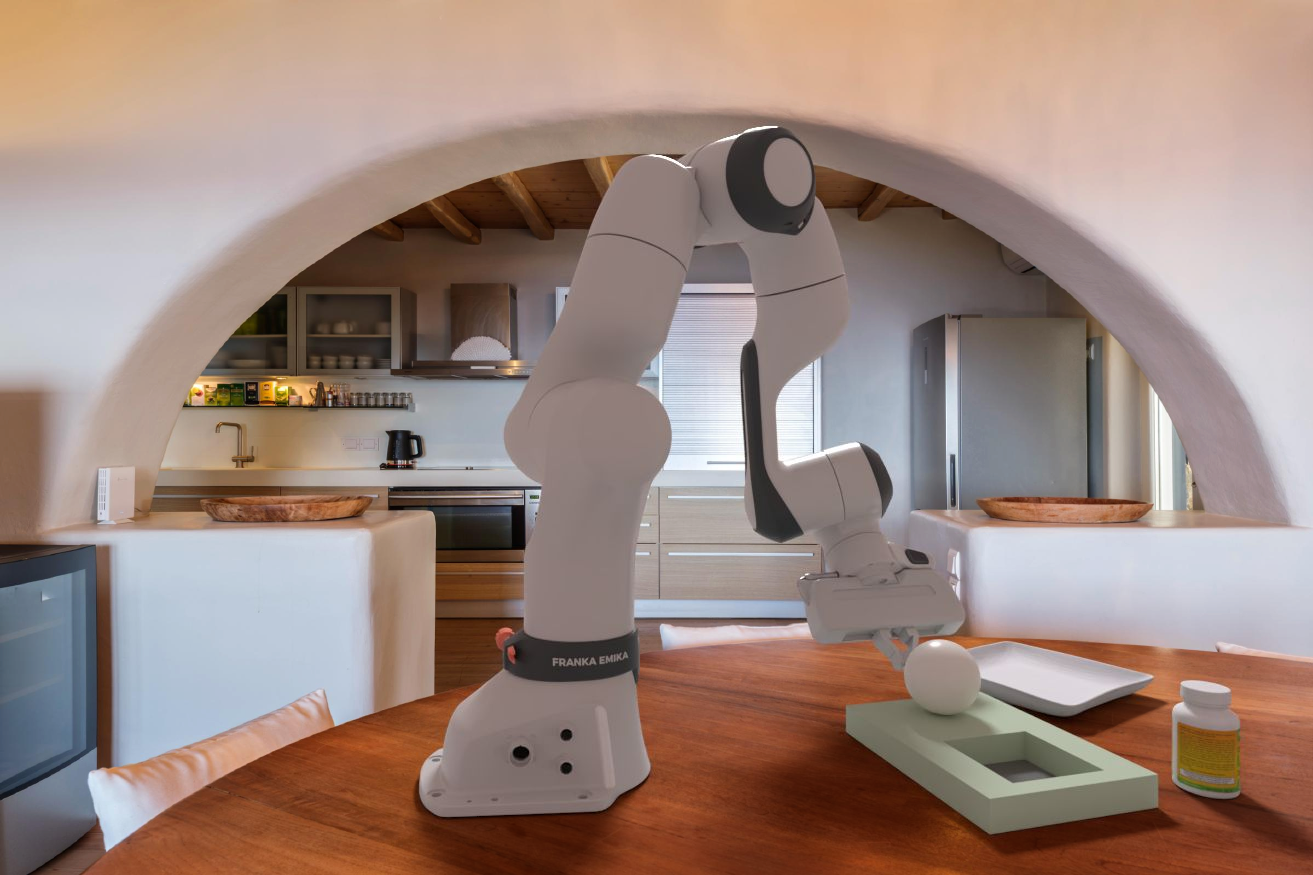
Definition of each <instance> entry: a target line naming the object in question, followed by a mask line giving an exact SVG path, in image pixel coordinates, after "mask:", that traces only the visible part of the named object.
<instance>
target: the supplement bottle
mask: <svg viewBox="0 0 1313 875" xmlns="http://www.w3.org/2000/svg"><path fill="white" fill-rule="evenodd" d="M1179 695H1180V698H1181V699H1182V700H1183V701H1182V702H1178V703H1177V704H1175V705H1174V706H1173V708H1172V710H1171V711H1172V712H1171V778H1172V782H1173V783H1174V784H1175V785H1176V786H1178V788H1181V789H1183V790H1184V791H1187V792H1189V793H1192V794H1194V795H1198V796H1201V797H1205V798H1210V799H1217V800H1220V799H1221V800H1227V799H1234V798H1237V797H1239V795H1240V794H1241V721H1240V720H1241V719H1240V717H1239V716H1238V715H1237V714H1236V713H1235V712H1234V711H1232V710H1231V709H1229V707H1231V706H1232V689H1230V688H1229V687H1227V686H1225V685H1222V684H1218V683H1215V682H1210V681H1206V680H1196V679H1195V680H1190V679H1189V680H1183V681H1181V682H1180V691H1179Z"/></svg>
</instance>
